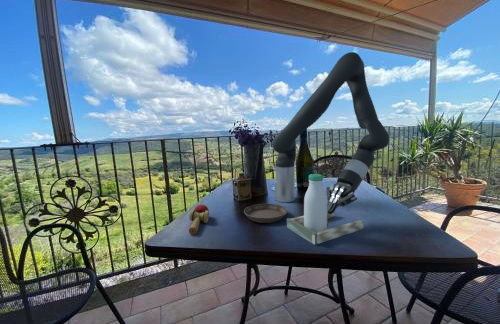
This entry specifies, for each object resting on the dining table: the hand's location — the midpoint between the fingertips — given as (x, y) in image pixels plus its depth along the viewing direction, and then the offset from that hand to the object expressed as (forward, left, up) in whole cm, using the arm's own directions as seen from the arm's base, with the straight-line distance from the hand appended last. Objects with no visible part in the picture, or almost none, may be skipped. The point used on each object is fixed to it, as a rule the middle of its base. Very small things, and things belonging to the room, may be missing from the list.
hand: (328, 212), depth 81 cm
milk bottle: (-3, -6, -6) cm, 9 cm away
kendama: (-44, -21, -6) cm, 49 cm away
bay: (-1, -1, -5) cm, 6 cm away
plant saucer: (-25, -1, -6) cm, 26 cm away
